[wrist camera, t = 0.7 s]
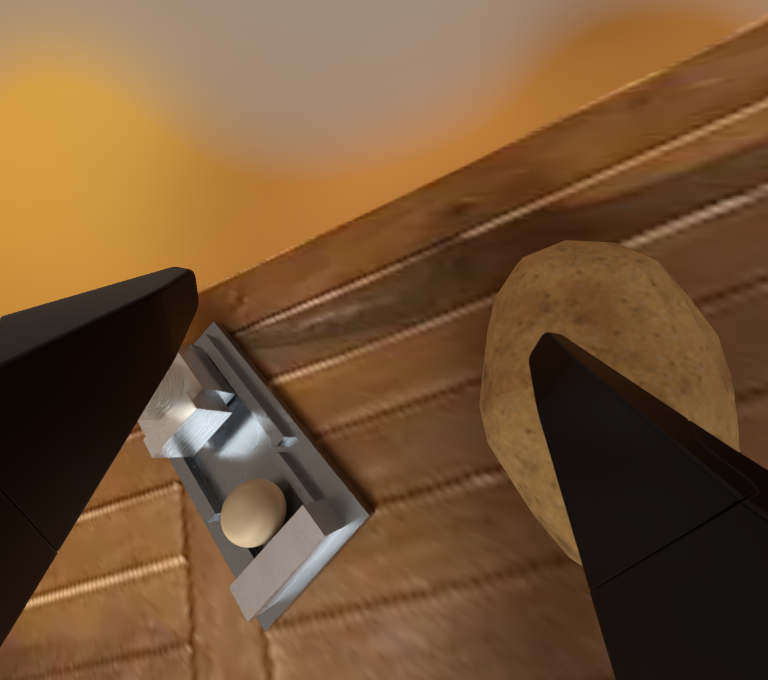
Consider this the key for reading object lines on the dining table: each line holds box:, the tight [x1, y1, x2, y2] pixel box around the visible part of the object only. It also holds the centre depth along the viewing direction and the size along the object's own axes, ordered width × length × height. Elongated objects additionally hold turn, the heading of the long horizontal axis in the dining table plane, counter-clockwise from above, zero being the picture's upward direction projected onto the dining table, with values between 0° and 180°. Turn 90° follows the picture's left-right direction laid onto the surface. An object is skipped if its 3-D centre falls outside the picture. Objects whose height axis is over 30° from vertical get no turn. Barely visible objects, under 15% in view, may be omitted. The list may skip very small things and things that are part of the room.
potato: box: [479, 240, 740, 566], centre depth 16 cm, size 10×14×8 cm
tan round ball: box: [221, 479, 286, 548], centre depth 20 cm, size 4×4×4 cm
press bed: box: [169, 322, 375, 631], centre depth 23 cm, size 19×9×4 cm, turn 45°
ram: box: [138, 344, 235, 458], centre depth 21 cm, size 6×5×10 cm
